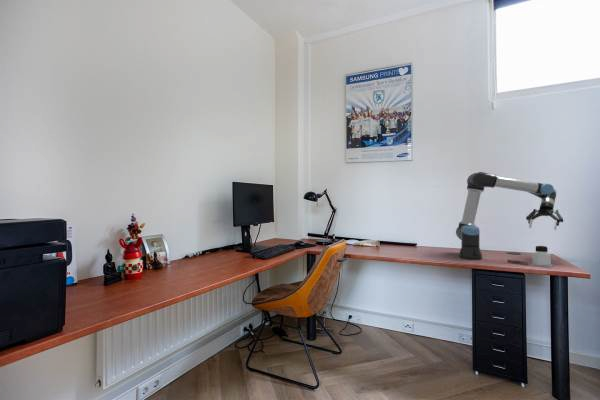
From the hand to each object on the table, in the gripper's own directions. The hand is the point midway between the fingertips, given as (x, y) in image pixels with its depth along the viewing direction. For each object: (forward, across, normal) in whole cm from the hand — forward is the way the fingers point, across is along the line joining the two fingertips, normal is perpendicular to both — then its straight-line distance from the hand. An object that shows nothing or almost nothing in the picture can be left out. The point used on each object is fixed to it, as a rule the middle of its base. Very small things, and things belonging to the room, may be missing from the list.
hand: (542, 227), depth 205 cm
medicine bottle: (+26, -2, -7) cm, 27 cm away
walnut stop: (+31, +9, -3) cm, 32 cm away
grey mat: (+26, -2, -7) cm, 27 cm away
